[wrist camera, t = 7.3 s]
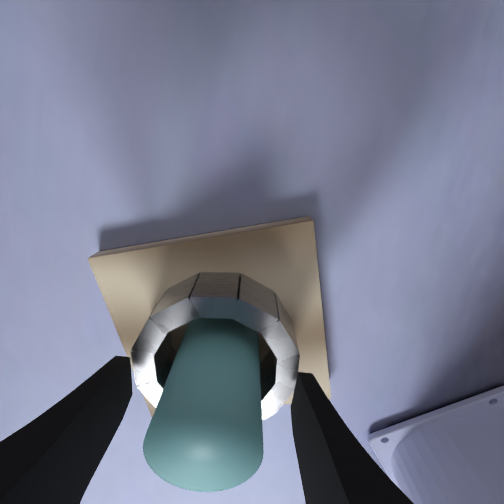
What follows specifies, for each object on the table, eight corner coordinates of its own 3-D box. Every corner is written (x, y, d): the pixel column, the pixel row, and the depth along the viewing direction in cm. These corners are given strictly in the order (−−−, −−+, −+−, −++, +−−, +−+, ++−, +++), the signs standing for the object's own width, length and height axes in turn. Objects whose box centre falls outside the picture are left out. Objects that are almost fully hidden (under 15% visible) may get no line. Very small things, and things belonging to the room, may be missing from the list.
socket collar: (248, 246, 13) (247, 267, 11) (313, 357, 15) (325, 395, 13) (123, 311, 14) (97, 343, 12) (200, 406, 16) (191, 448, 14)
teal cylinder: (234, 294, 14) (222, 389, 8) (271, 350, 15) (284, 467, 9) (170, 327, 14) (117, 436, 9) (210, 378, 16) (187, 505, 10)
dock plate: (98, 251, 14) (87, 258, 13) (309, 216, 13) (313, 220, 12) (158, 406, 18) (153, 421, 17) (326, 385, 17) (331, 398, 16)
